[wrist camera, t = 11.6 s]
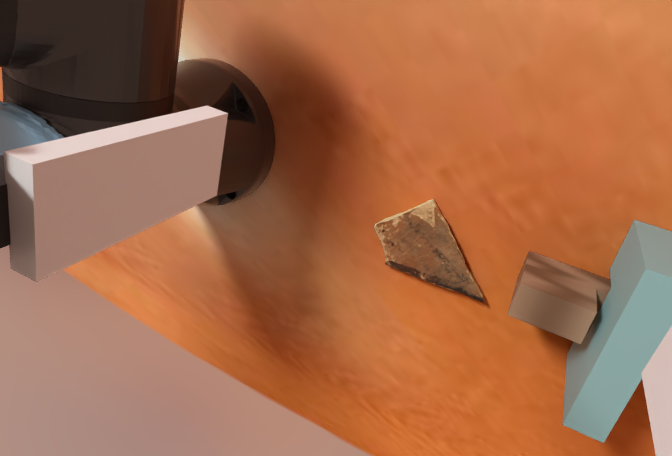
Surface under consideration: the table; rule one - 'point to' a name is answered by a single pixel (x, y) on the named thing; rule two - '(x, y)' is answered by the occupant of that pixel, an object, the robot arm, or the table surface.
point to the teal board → (621, 333)
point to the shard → (426, 249)
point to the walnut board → (558, 297)
